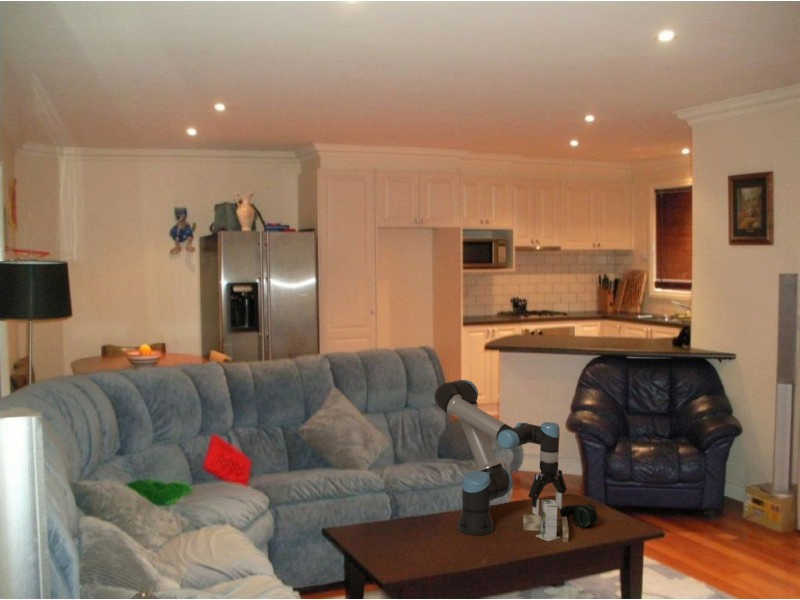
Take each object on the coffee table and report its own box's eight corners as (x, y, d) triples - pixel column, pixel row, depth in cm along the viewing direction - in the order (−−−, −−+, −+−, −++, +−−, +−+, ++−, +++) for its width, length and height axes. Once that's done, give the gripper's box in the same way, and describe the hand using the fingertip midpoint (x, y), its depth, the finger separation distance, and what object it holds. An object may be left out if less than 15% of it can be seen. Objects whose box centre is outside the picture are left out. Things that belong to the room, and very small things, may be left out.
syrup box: (540, 533, 311) (540, 499, 311) (554, 533, 311) (554, 499, 311) (542, 538, 306) (543, 503, 305) (557, 538, 306) (557, 503, 305)
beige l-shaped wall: (523, 539, 305) (523, 524, 305) (523, 528, 318) (523, 514, 318) (568, 542, 302) (568, 527, 302) (566, 530, 315) (566, 517, 315)
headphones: (611, 513, 322) (580, 506, 339) (593, 494, 318) (562, 488, 335) (597, 539, 316) (566, 531, 334) (578, 520, 313) (547, 513, 330)
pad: (548, 541, 303) (548, 540, 303) (535, 536, 309) (535, 535, 309) (559, 537, 307) (559, 537, 307) (547, 532, 313) (547, 531, 313)
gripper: (534, 467, 296) (532, 519, 298) (576, 458, 311) (574, 508, 312) (520, 462, 302) (519, 513, 304) (562, 454, 317) (561, 503, 318)
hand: (547, 511), depth 308 cm, fingers open, 13 cm apart
